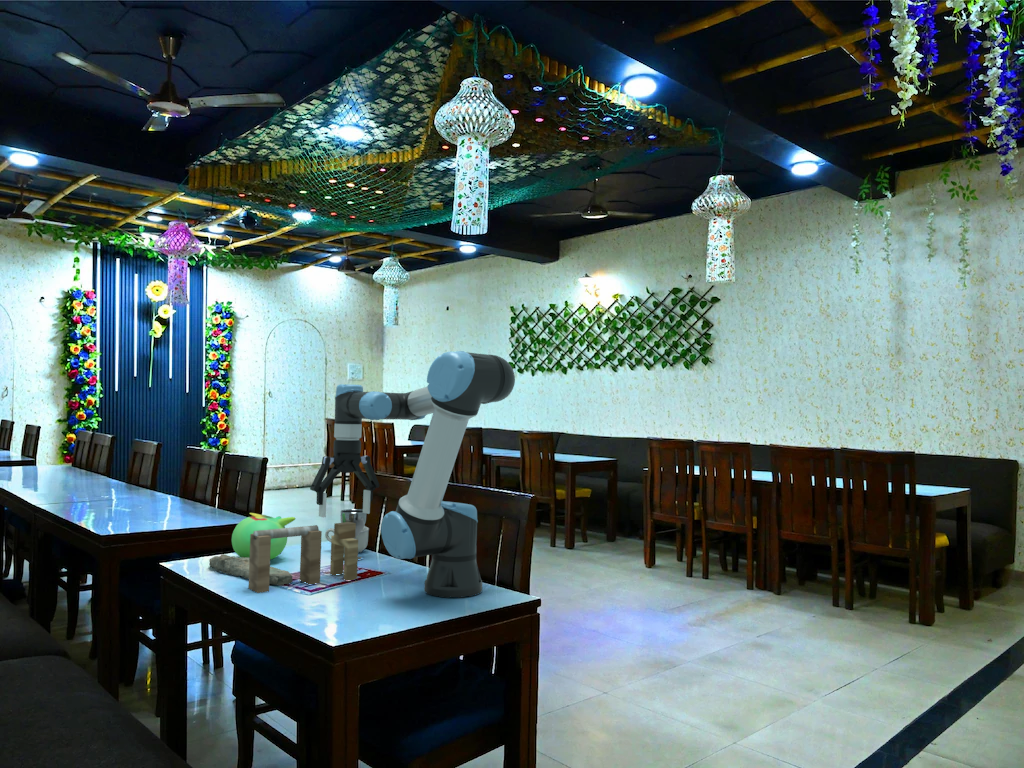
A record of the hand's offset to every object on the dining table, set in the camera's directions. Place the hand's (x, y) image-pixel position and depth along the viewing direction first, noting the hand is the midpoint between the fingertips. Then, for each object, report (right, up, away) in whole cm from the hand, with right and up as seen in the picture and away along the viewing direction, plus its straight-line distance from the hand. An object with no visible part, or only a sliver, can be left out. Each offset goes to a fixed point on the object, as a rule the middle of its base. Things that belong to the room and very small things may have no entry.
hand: (344, 514), depth 201 cm
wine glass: (-3, -18, +24) cm, 31 cm away
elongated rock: (-27, -17, 0) cm, 32 cm away
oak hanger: (0, -17, -1) cm, 17 cm away
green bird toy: (-30, -18, +18) cm, 39 cm away
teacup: (-7, -19, +35) cm, 40 cm away
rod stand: (-13, -17, -12) cm, 24 cm away
